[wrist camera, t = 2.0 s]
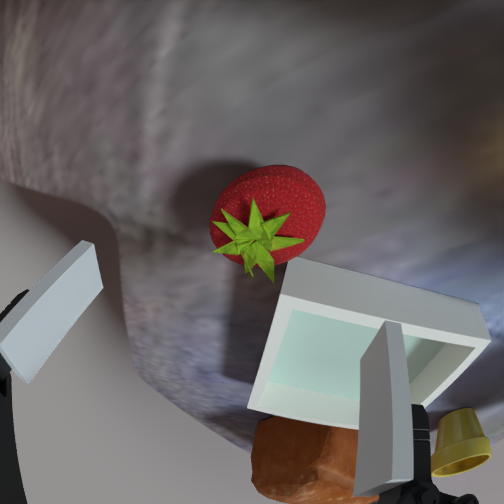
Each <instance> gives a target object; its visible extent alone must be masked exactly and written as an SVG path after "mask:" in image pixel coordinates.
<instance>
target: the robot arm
mask: <svg viewBox="0 0 504 504" xmlns="http://www.w3.org/2000/svg"><path fill="white" fill-rule="evenodd" d="M102 288H103V285H102V281H101V276H100V272H99V268H98V262H97V257H96V252H95V247H94V244H93V243H90V242H87V241H83V240H82V241H81V242H80V243H78V244H77V245H76V246H75V247H74V248H73V249H72V250H71V251H70V252H69V253H67V254H66V255H65V257H63V258H62V259H61V260H60V261H59V262H58V263H57V264H56V265H55V266H54V267H53V268H52V269H51V270H50V271H49V272H48V273H47V274H46V275H45V276H44V277H42V279H41V280H40V281H38V283H37V284H36V285H35V286H34V287H33V288H32V289H31V290H28V289H27V290H25V291H23V292H22V293H20V294H18V295H17V296H16V297H15V298H14V299H13V300H12V301H11V304H9V305H8V306H7V307H6V308H5V310H4V311H2V313H1V314H0V504H27V500H26V496H25V492H24V488H23V483H22V478H21V473H20V468H19V463H18V457H17V449H16V443H15V434H14V423H13V410H12V387H11V374H10V373H9V372H10V371H11V369H12V370H13V371H14V373H15V374H16V375H17V376H18V377H19V378H20V379H21V380H23V381H24V382H25V383H27V384H28V385H29V384H30V382H31V381H32V379H33V378H34V377H35V375H36V374H37V372H38V371H39V369H40V368H41V367H42V365H43V364H44V362H45V361H46V360H47V358H48V357H49V356H50V354H51V353H52V351H53V350H54V349H55V348H56V346H57V345H58V344H59V342H60V341H61V339H62V338H63V337H64V336H65V334H66V333H67V332H68V330H69V329H70V328H71V327H72V325H73V324H74V323H75V322H76V320H77V319H78V318H79V316H80V315H81V314H82V313H83V311H84V310H85V309H86V308H87V307H88V305H89V304H90V303H91V302H92V301H93V299H94V298H95V297H96V296H97V294H98V293H99V292H100V291H101V290H102ZM429 440H430V434H429V421H428V415H427V413H426V411H425V409H424V406H423V405H420V404H411V397H410V386H409V377H408V368H407V360H406V353H405V346H404V339H403V333H402V327H401V323H396V322H391V321H387V320H385V321H384V323H383V324H382V326H381V328H380V329H379V331H378V333H377V334H376V336H375V337H374V339H373V340H372V342H371V344H370V345H369V347H368V348H367V350H366V351H365V353H364V354H363V356H362V357H361V359H360V410H359V432H358V448H357V460H356V471H355V481H354V490H353V497H373V496H375V495H378V494H379V500H377V501H374V502H371V503H369V504H479V502H478V500H477V498H476V497H475V496H474V495H473V494H466V495H463V496H461V497H456V496H452V495H448V494H445V493H442V492H440V491H439V490H438V488H437V487H436V486H435V485H434V484H433V482H432V478H431V452H430V442H429Z"/></svg>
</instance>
